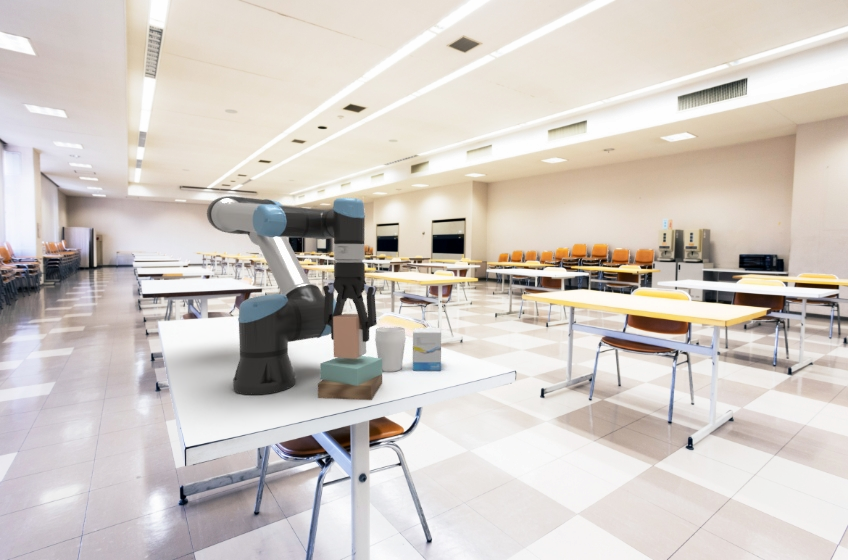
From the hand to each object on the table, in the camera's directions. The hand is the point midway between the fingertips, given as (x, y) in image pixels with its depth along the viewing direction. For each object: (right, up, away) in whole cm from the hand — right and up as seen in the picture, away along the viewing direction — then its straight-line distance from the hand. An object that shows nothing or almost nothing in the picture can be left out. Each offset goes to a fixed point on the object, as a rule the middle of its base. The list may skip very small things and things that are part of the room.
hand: (350, 353), depth 103 cm
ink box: (+20, -8, +22) cm, 31 cm away
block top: (0, -6, 0) cm, 6 cm away
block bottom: (0, -10, 0) cm, 10 cm away
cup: (+9, -8, +20) cm, 23 cm away
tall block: (0, 0, 0) cm, 1 cm away
